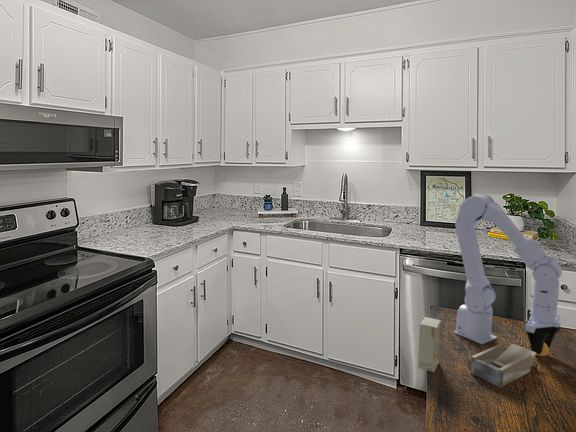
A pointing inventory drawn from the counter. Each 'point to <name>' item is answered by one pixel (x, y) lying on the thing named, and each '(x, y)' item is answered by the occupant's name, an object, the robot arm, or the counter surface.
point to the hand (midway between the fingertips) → (540, 350)
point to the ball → (544, 350)
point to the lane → (502, 364)
